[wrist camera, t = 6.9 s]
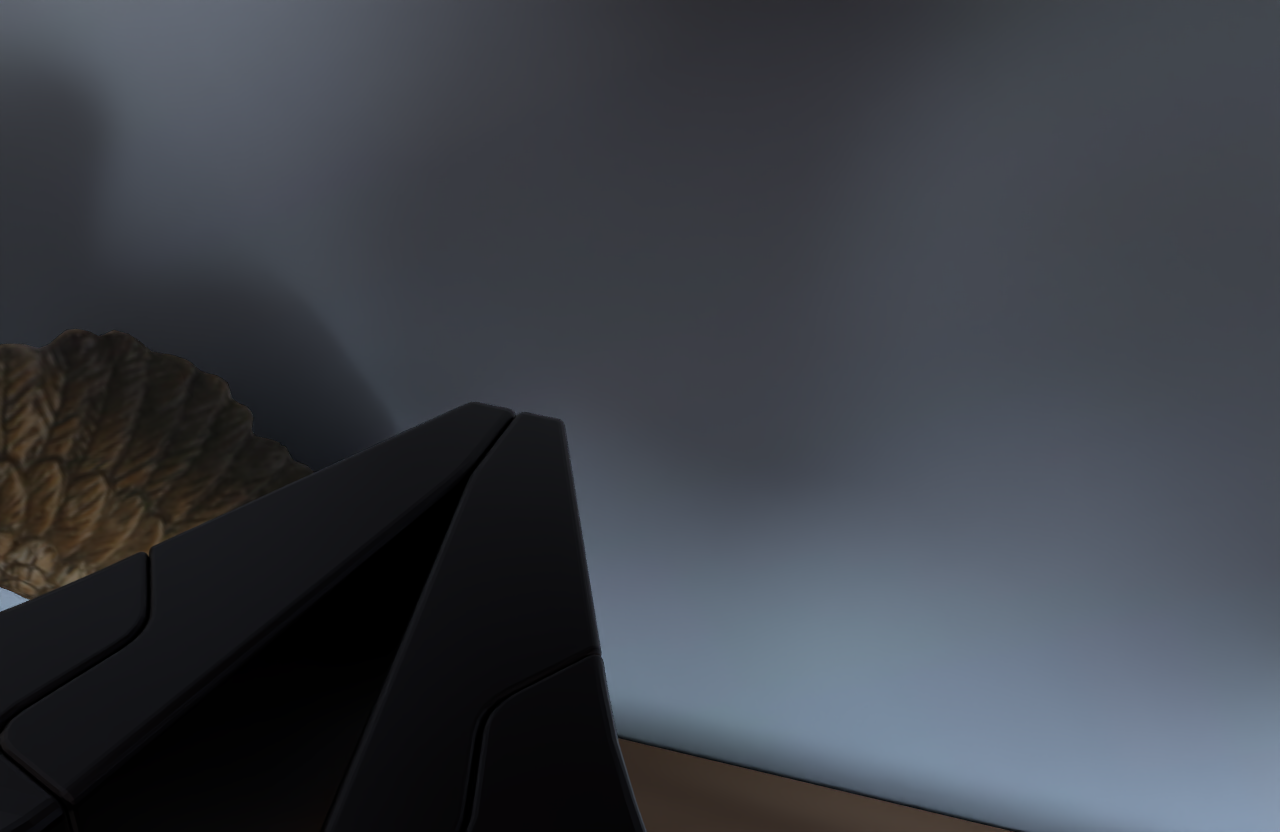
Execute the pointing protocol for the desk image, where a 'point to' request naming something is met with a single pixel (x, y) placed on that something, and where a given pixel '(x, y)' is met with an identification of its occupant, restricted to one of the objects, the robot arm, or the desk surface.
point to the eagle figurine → (116, 455)
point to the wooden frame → (759, 800)
